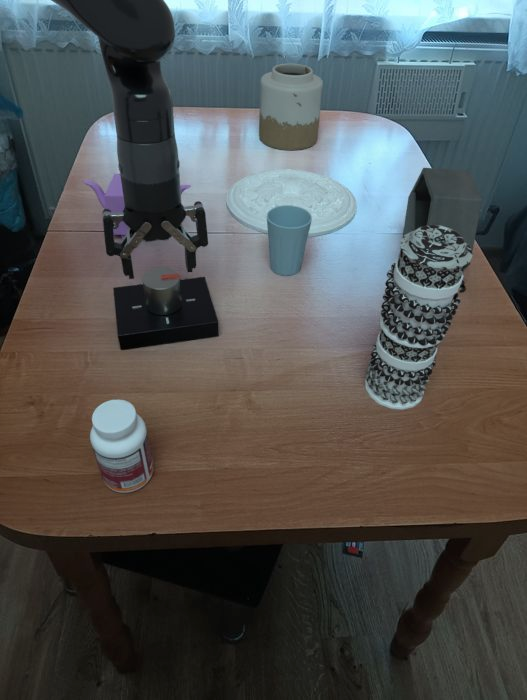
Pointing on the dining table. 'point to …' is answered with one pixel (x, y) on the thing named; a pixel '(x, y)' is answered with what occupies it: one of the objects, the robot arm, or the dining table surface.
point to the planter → (444, 203)
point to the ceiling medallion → (291, 199)
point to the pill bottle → (121, 446)
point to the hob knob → (162, 290)
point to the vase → (290, 107)
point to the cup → (287, 238)
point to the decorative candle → (416, 314)
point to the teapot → (115, 199)
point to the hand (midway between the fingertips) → (160, 272)
